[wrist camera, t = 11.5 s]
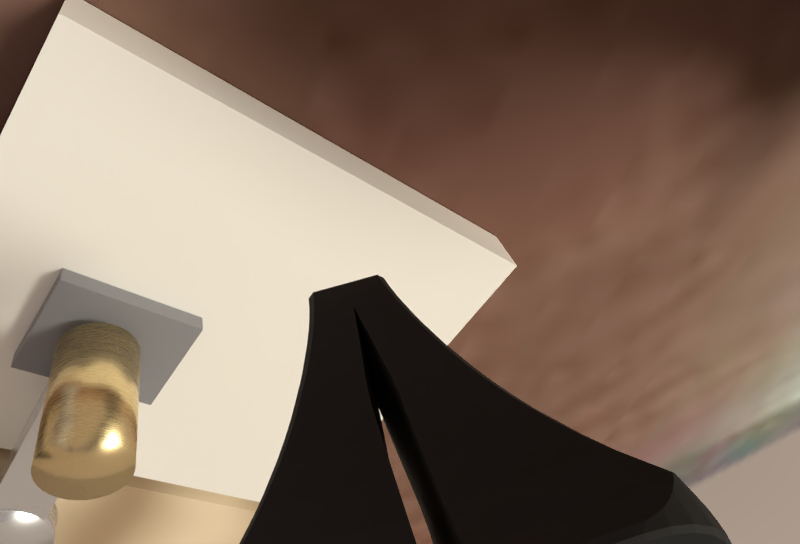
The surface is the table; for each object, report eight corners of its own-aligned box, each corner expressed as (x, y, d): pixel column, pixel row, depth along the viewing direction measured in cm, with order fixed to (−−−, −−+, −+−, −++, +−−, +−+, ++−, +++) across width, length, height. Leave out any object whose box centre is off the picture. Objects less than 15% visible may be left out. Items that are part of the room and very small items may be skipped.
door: (-115, 374, 22) (-143, 433, 20) (68, -8, 17) (55, 20, 15) (295, 473, 31) (304, 522, 29) (495, 236, 26) (523, 275, 24)
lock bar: (39, 550, 25) (17, 674, 21) (-61, 538, 23) (-102, 671, 20) (166, 340, 21) (166, 451, 17) (58, 308, 19) (34, 423, 16)
